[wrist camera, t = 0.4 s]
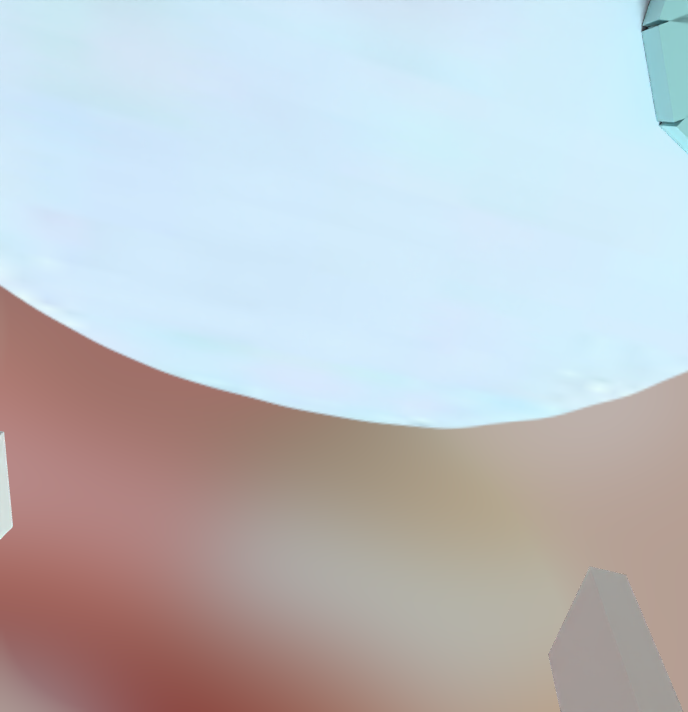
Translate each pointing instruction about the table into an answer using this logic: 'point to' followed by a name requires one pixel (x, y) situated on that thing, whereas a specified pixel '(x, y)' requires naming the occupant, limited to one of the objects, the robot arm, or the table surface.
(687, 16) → the dish
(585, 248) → the table surface
